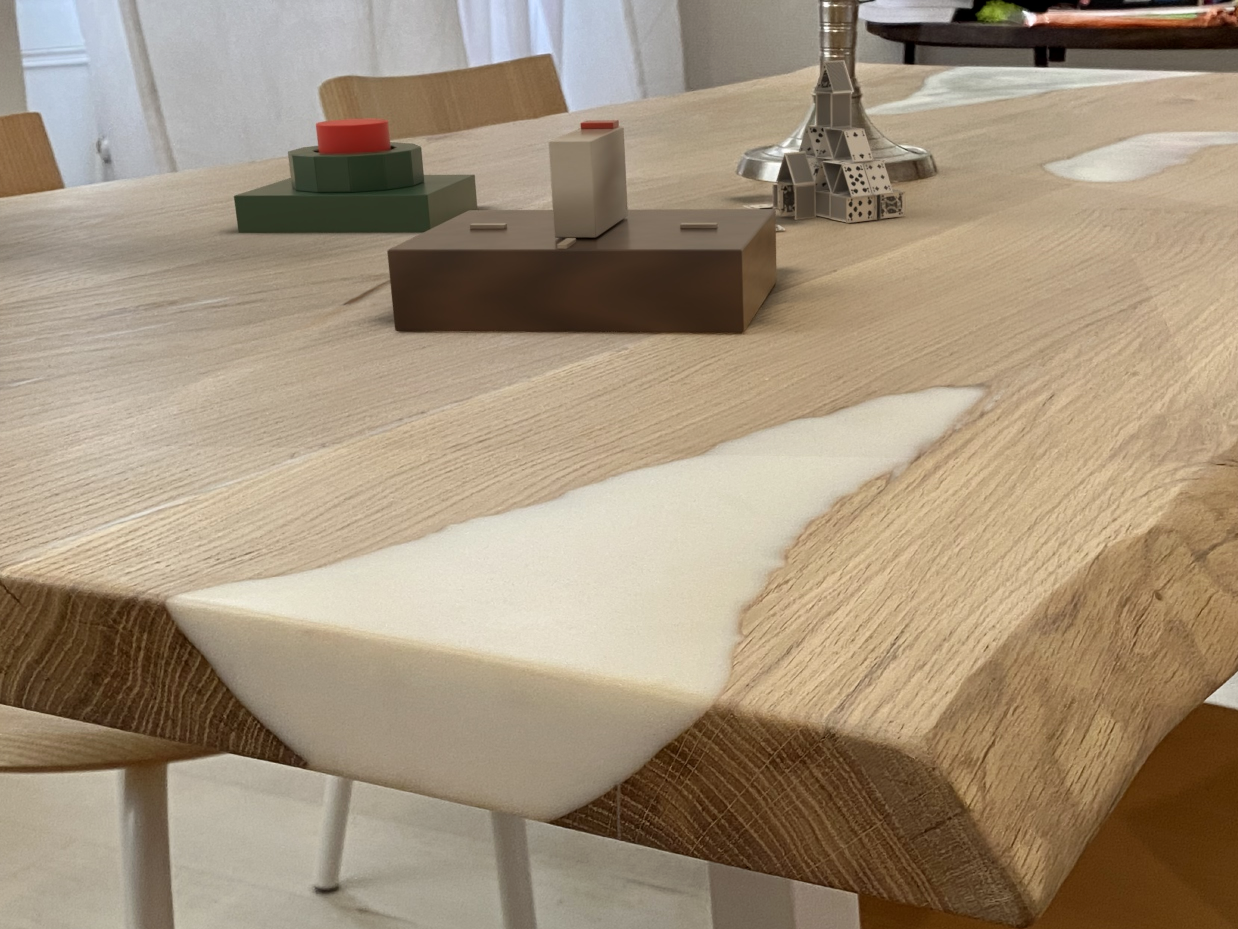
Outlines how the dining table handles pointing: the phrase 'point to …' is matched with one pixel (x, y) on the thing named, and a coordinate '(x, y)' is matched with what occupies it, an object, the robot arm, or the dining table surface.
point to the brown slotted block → (586, 273)
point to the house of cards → (834, 164)
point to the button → (353, 136)
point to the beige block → (588, 179)
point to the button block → (356, 194)
